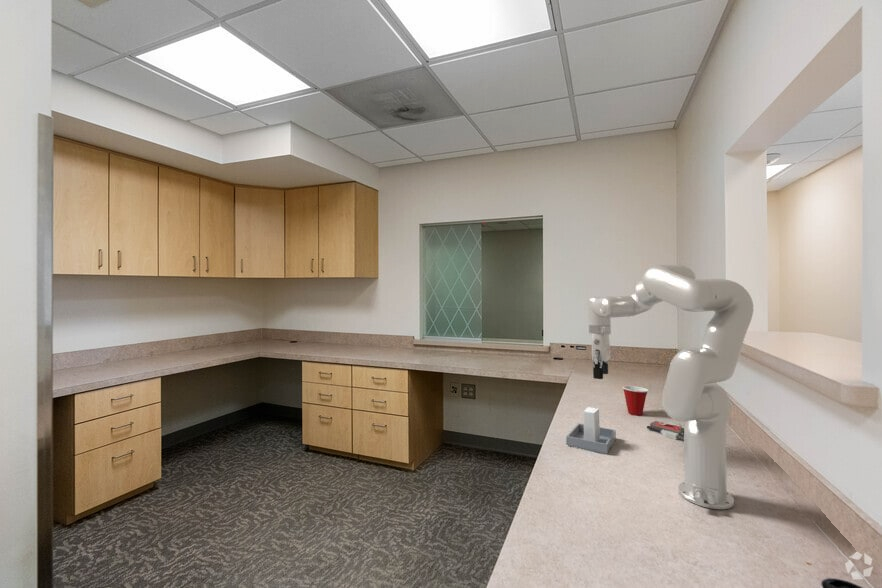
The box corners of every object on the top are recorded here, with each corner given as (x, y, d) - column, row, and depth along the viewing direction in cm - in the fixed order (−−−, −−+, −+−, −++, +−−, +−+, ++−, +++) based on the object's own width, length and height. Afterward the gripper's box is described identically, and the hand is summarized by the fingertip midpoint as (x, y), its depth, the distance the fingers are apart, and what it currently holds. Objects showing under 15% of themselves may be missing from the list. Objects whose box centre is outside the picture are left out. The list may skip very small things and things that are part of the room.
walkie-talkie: (643, 431, 153) (699, 448, 137) (643, 420, 153) (699, 436, 137) (654, 426, 158) (709, 442, 142) (654, 416, 158) (709, 430, 142)
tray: (607, 454, 132) (606, 444, 132) (566, 445, 140) (566, 436, 140) (615, 439, 145) (615, 430, 145) (578, 431, 153) (578, 423, 153)
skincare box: (588, 437, 146) (587, 406, 146) (600, 440, 143) (599, 408, 143) (583, 443, 141) (583, 410, 141) (595, 445, 138) (595, 412, 138)
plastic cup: (654, 415, 170) (654, 388, 170) (637, 419, 166) (636, 391, 166) (634, 408, 180) (634, 383, 180) (617, 411, 177) (616, 386, 176)
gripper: (606, 332, 132) (607, 381, 132) (614, 328, 146) (615, 372, 146) (583, 332, 136) (585, 379, 136) (594, 327, 150) (595, 371, 150)
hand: (601, 376), depth 141 cm, fingers open, 9 cm apart
